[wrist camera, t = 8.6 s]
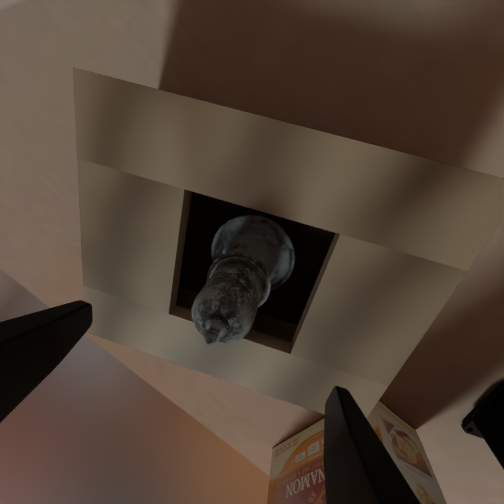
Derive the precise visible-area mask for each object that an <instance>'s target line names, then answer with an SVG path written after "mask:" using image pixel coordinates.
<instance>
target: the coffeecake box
mask: <svg viewBox="0 0 504 504" xmlns="http://www.w3.org/2000/svg"><path fill="white" fill-rule="evenodd" d="M367 420H368V421H369V423H370V425H371V426H372V428H373V429H374V431H375V432H376V434H377V436H378V437H379V439H380V440H381V442H382V443H383V445H384V447H385V448H386V450H387V451H388V453H389V454H390V456H391V458H392V459H393V461H394V462H395V464H396V465H397V467H398V468H399V470H400V472H401V473H402V475H403V476H404V478H405V479H406V481H407V483H408V484H409V486H410V487H411V489H412V490H413V492H414V494H415V495H416V497H417V498H418V500H419V501H420V503H421V504H447V503H446V501H445V499H444V496H443V494H442V491H441V489H440V486H439V484H438V481H437V479H436V477H435V474H434V472H433V469H432V467H431V465H430V462H429V460H428V457H427V455H426V452H425V450H424V447H423V445H422V443H421V441H420V438H419V436H418V434H417V431H416V430H415V429H413V428H412V427H411V426H409V425H408V424H407V423H406V422H404V421H403V420H402V419H400V418H399V417H398V416H397V415H395V414H394V413H393V412H391V411H390V410H389V409H388V408H387V407H386V406H385V405H384V404H383V403H381V402H380V401H378V402H377V404H376V405H375V407H374V408H373V409H372V411H371V412H370V414H369V415H368V417H367ZM323 449H324V418H323V419H322V420H320V421H318V422H317V423H315V424H313V425H311V426H310V427H308V428H306V429H305V430H303V431H301V432H300V433H298V434H296V435H294V436H293V437H291V438H289V439H288V440H286V441H284V442H283V443H281V444H279V445H277V446H276V447H274V448H272V459H271V469H270V480H269V491H268V500H267V504H326V494H325V479H324V462H323Z"/></svg>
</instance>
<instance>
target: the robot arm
mask: <svg viewBox="0 0 504 504" xmlns="http://www.w3.org/2000/svg"><path fill="white" fill-rule="evenodd" d="M92 322H93V313H92V305H91V304H90V303H88V302H85V301H82V300H78V301H74V302H71V303H67V304H64V305H60V306H56V307H53V308H49V309H46V310H42V311H39V312H35V313H31V314H28V315H24V316H21V317H17V318H13V319H10V320H6V321H3V322H0V423H1V422H2V421H3V420H4V419H5V418H6V417H7V415H9V414H10V412H12V411H13V410H14V409H15V407H17V405H19V403H20V402H22V401H23V400H24V398H26V397H27V396H28V395H29V394H30V393H31V392H32V391H33V390H34V388H36V387H37V386H38V384H40V383H41V382H42V381H43V380H44V379H45V378H46V377H47V376H48V375H49V374H50V373H51V372H52V371H53V370H54V369H55V368H56V366H57V365H58V364H59V363H60V362H61V361H62V360H63V359H64V357H65V356H66V355H67V354H68V353H69V352H70V350H71V349H72V348H73V347H74V346H75V344H76V343H77V342H78V341H79V340H80V339H81V337H82V336H83V335H84V334H85V333H86V331H87V330H88V329H89V328H90V326H91V325H92ZM461 427H462V428H463V430H464V431H465V432H466V433H468V434H471V435H474V436H477V437H480V438H483V439H484V440H485V441H486V443H487V444H488V446H489V448H490V449H491V451H492V452H493V454H494V455H495V457H496V458H497V460H498V461H499V463H500V465H501V466H502V468H503V469H504V382H503V383H501V384H500V385H499V386H498V387H497V388H496V389H495V390H494V391H493V392H492V393H491V394H490V395H489V396H488V397H487V398H486V399H485V400H484V401H483V402H482V403H481V404H480V405H479V406H478V407H477V409H476V410H475V411H474V412H473V413H472V414H471V415H470V416H469V417H468V418H467V419H466V420H465V421H464V422H463V423H462V425H461ZM323 462H324V479H325V494H326V504H421V503H420V501H419V500H418V498H417V497H416V495H415V494H414V492H413V490H412V489H411V487H410V486H409V484H408V483H407V481H406V479H405V478H404V476H403V475H402V473H401V472H400V470H399V468H398V467H397V465H396V464H395V462H394V461H393V459H392V458H391V456H390V454H389V453H388V451H387V450H386V448H385V447H384V445H383V443H382V442H381V440H380V439H379V437H378V436H377V434H376V432H375V431H374V429H373V428H372V426H371V425H370V423H369V421H368V420H367V418H366V417H365V415H364V414H363V412H362V410H361V409H360V407H359V406H358V404H357V403H356V401H355V400H354V398H353V396H352V395H351V393H350V392H349V391H348V389H346V388H343V387H340V386H334V388H333V389H332V391H331V393H330V395H329V396H328V398H327V400H326V403H325V415H324V449H323Z"/></svg>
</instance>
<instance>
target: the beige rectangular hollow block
mask: <svg viewBox="0 0 504 504" xmlns="http://www.w3.org/2000/svg"><path fill="white" fill-rule="evenodd" d="M73 81H74V102H75V123H76V144H77V164H78V185H79V206H80V227H81V248H82V269H83V290H84V301H85V302H88V303H90V304H91V305H92V313H93V322H92V325H91V326H90V328H89V329H88V330H87V331H86V332H88V333H90V334H93V335H96V336H99V337H102V338H105V339H108V340H111V341H113V342H116V343H119V344H122V345H125V346H128V347H131V348H134V349H137V350H139V351H142V352H145V353H148V354H151V355H154V356H157V357H160V358H163V359H165V360H168V361H171V362H174V363H177V364H180V365H183V366H186V367H188V368H191V369H194V370H197V371H200V372H203V373H206V374H209V375H212V376H214V377H217V378H220V379H223V380H226V381H229V382H232V383H235V384H237V385H240V386H243V387H246V388H249V389H252V390H255V391H258V392H261V393H263V394H266V395H269V396H272V397H275V398H278V399H281V400H284V401H287V402H289V403H292V404H295V405H298V406H301V407H304V408H307V409H310V410H312V411H315V412H318V413H321V414H324V415H325V403H326V400H327V398H328V396H329V395H330V393H331V391H332V389H333V388H334V386H340V387H343V388H346V389H348V391H349V392H350V393H351V395H352V396H353V398H354V400H355V401H356V403H357V404H358V406H359V407H360V409H361V410H362V412H363V414H364V415H365V417H366V418H367V417H368V415H369V414H370V412H371V411H372V409H373V408H374V407H375V405H376V404H377V402H378V401H379V399H380V398H381V396H382V395H383V393H384V392H385V391H386V389H387V388H388V386H389V385H390V383H391V382H392V380H393V379H394V378H395V376H396V375H397V373H398V372H399V370H400V369H401V367H402V366H403V365H404V363H405V362H406V360H407V359H408V357H409V356H410V354H411V353H412V352H413V350H414V349H415V347H416V346H417V344H418V343H419V341H420V340H421V338H422V337H423V336H424V334H425V333H426V331H427V330H428V328H429V327H430V325H431V324H432V323H433V321H434V320H435V318H436V317H437V315H438V314H439V312H440V311H441V310H442V308H443V307H444V305H445V304H446V302H447V301H448V299H449V298H450V297H451V295H452V294H453V292H454V291H455V289H456V288H457V286H458V285H459V284H460V282H461V281H462V279H463V278H464V276H465V275H466V273H467V272H468V270H469V269H470V268H471V266H472V265H473V263H474V262H475V260H476V259H477V257H478V256H479V255H480V253H481V252H482V250H483V249H484V247H485V246H486V244H487V243H488V242H489V240H490V239H491V237H492V236H493V234H494V233H495V231H496V230H497V229H498V227H499V226H500V224H501V223H502V221H503V220H504V178H500V177H497V176H493V175H489V174H485V173H481V172H477V171H473V170H469V169H466V168H462V167H458V166H454V165H450V164H446V163H442V162H438V161H434V160H431V159H427V158H423V157H419V156H415V155H411V154H407V153H403V152H400V151H396V150H392V149H388V148H384V147H380V146H376V145H372V144H369V143H365V142H361V141H357V140H353V139H349V138H345V137H341V136H337V135H334V134H330V133H326V132H322V131H318V130H314V129H310V128H306V127H303V126H299V125H295V124H291V123H287V122H283V121H279V120H275V119H272V118H268V117H264V116H260V115H256V114H252V113H248V112H244V111H240V110H237V109H233V108H229V107H225V106H221V105H217V104H213V103H209V102H206V101H202V100H198V99H194V98H190V97H186V96H182V95H178V94H174V93H171V92H167V91H163V90H159V89H155V88H151V87H147V86H143V85H140V84H136V83H132V82H128V81H124V80H120V79H116V78H112V77H109V76H105V75H101V74H97V73H93V72H89V71H85V70H81V69H77V68H74V67H73ZM192 192H196V193H199V194H203V195H206V196H210V197H213V198H217V199H220V200H223V201H227V202H230V203H234V204H237V205H241V206H244V207H248V208H251V209H255V210H258V211H262V212H265V213H269V214H272V215H275V216H279V217H282V218H286V219H289V220H293V221H296V222H300V223H303V224H307V225H310V226H314V227H317V228H321V229H324V230H327V231H331V232H334V233H335V236H334V238H333V240H332V243H331V245H330V248H329V250H328V253H327V255H326V258H325V260H324V263H323V265H322V267H321V270H320V272H319V275H318V277H317V280H316V282H315V285H314V287H313V290H312V292H311V294H310V297H309V299H308V302H307V304H306V307H305V309H304V312H303V314H302V317H301V319H300V321H299V324H298V325H295V324H292V323H289V322H285V321H282V320H279V319H276V318H273V317H270V316H267V315H264V314H261V313H256V316H255V319H254V323H253V325H252V327H251V329H250V330H249V332H248V333H247V334H246V335H245V336H244V337H243V338H241V339H240V340H238V341H235V342H231V343H214V344H209V345H207V344H206V342H205V340H204V337H203V336H202V335H201V333H200V332H199V331H198V330H197V328H196V327H195V325H194V322H193V318H192V306H193V303H194V300H195V298H196V297H197V295H198V293H195V292H192V291H189V290H186V289H183V288H180V287H179V280H180V272H181V265H182V258H183V251H184V244H185V237H186V230H187V222H188V215H189V208H190V201H191V194H192Z"/></svg>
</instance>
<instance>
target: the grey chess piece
mask: <svg viewBox="0 0 504 504" xmlns="http://www.w3.org/2000/svg"><path fill="white" fill-rule="evenodd" d="M211 255H212V260H213V264H212V265H211V266H210V268H209V271H208V274H207V283H206V285H205V286H204V287H203V289H202V290H201V291H200V293H199V294H198V295H197V297H196V298H195V300H194V303H193V306H192V318H193V322H194V325H195V327H196V328H197V330H198V331H199V332H200V333H201V335H202V336H203V337H204V340H205V342H206V344H207V345H209V344H214V343H231V342H235V341H238V340H240V339H241V338H243V337H244V336H245V335H246V334H247V333H248V332H249V330H250V329H251V327H252V325H253V323H254V319H255V316H256V313H257V309H258V307H259V306H261V305H262V304H263V303H264V302H265V301H266V300H267V298H268V296H269V294H270V291H273V290H275V289H277V288H278V287H280V286H281V285H283V284H284V283H285V281H286V280H287V279H288V278H289V277H290V275H291V273H292V271H293V268H294V263H295V251H294V246H293V237H292V232H291V229H290V227H289V225H288V223H287V222H286V221H285V219H284V218H282V217H279V216H275V215H272V214H269V213H265V212H262V211H258V210H255V209H250V210H248V211H245V212H243V213H242V214H241V215H239V216H237V217H235V218H232V219H230V220H228V221H227V222H226V223H225V224H223V225H222V226H221V227H220V228H219V230H218V231H217V233H216V234H215V236H214V239H213V242H212V251H211Z"/></svg>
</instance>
